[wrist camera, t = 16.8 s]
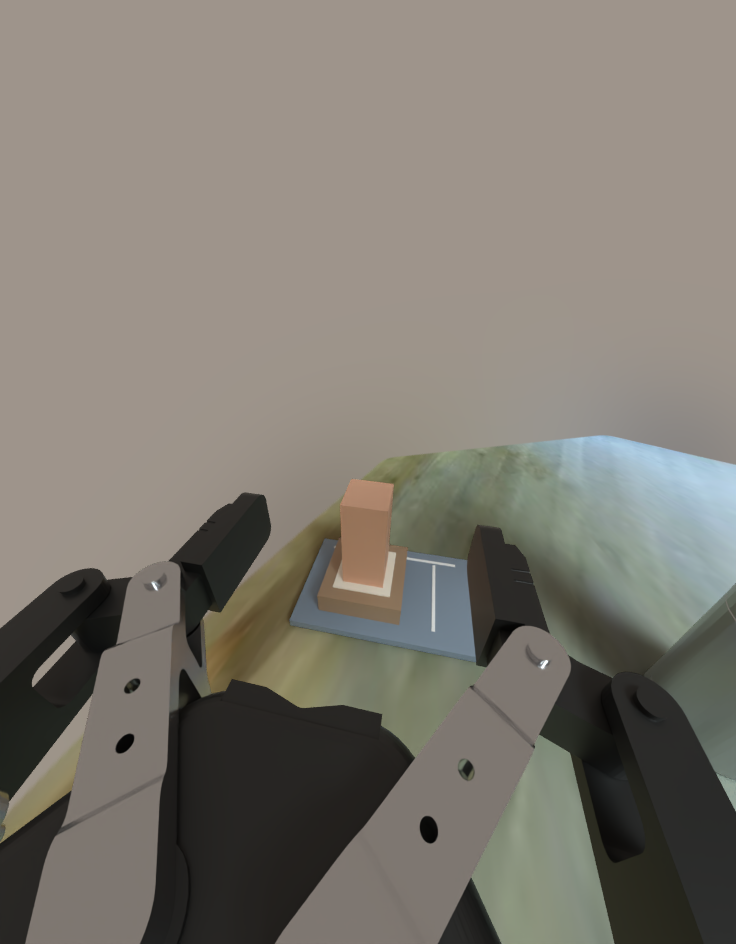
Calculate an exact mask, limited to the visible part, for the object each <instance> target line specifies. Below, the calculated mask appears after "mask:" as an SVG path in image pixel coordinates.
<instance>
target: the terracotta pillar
mask: <svg viewBox="0 0 736 944" xmlns="http://www.w3.org/2000/svg"><path fill="white" fill-rule="evenodd" d="M393 488H394V484H389V483H381V482H373V481H364V480H356V479H351V481H350V483H349V485H348V488H347V490H346V493H345V495H344V497H343V500H342V502H341V504H340V514H341V542H342V570H343V581H345V582H351V583H357V584H362V585H368V586H374V587H380V588H383V584H384V578H385V572H386V566H387V560H388V552H389V539H390V526H391V514H392V501H393Z"/></svg>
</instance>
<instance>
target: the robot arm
mask: <svg viewBox="0 0 736 944" xmlns="http://www.w3.org/2000/svg"><path fill="white" fill-rule="evenodd" d="M270 531H271V524H270V518H269V513H268V509H267V503H266V498H265V496H264V495H260V494H252V493H242V494H241V495H240V496H239V497H238V498H237V499H236V500H235V501H234V503H233V504H227V505H225V506H224V507H222V508H221V509H219V510H217V511H216V512H215V513H214V514H213V515H212V516H211V517H210V518H209V519H208V520H207V523H204V524H203V525H202V526H201V527H200V529H199V531H197V532H196V533H195V534H194V535H193V536H192V537H191V538H190V539H189V540H188V541H187V542H186V543H185V544H184V545H183V546H182V548H181V549H180V550H179V551H178V552H177V553H176V554H175V555H174V556H173V557H172V558H171V559H170V560H169V561H167V562H166V561H164V562H158V563H155V564H152V565H150V566H147V567H145V568H144V569H142V570H141V571H139V572H138V573H137V574H136V575H135V576H134V577H129V578H120V579H111V580H107V579H106V578H105V576H104V575H103V573H102V572H101V571H100V570H98V569H94V568H93V569H92V568H90V569H82V570H78V571H75V572H73V573H70V574H68V575H66V576H64V577H63V578H61V579H59V580H58V581H56V582H55V583H54V584H52V585H51V586H50V587H49V588H48V589H46V590H45V591H44V592H43V593H42V594H41V595H39V596H38V597H37V598H36V599H35V600H33V602H31V603H30V604H29V605H28V606H26V607H25V608H24V609H23V610H22V611H20V612H19V613H18V614H17V615H16V616H15V617H13V618H12V619H11V620H10V621H9V622H7V623H6V624H5V625H4V626H3V627H2V628H0V841H1V840H2V838H3V836H4V833H5V824H4V823H2V822H3V820H4V818H5V816H6V813H7V810H8V806H9V801H10V800H11V799H12V797H13V796H14V795H15V793H16V792H17V791H18V789H19V788H20V787H21V786H22V784H23V783H24V782H25V780H26V779H27V778H28V776H29V775H30V774H31V773H32V771H33V770H34V769H35V768H36V766H37V765H38V764H39V762H40V761H41V760H42V758H43V757H44V756H45V755H46V753H47V752H48V751H49V749H50V748H51V747H52V746H53V744H54V743H55V742H56V740H57V739H58V738H59V737H60V735H61V734H62V733H63V731H64V730H65V729H66V727H67V726H68V725H69V724H70V722H71V721H72V720H73V718H74V717H75V716H76V715H77V713H78V712H79V711H80V709H81V708H82V707H83V705H84V704H85V703H86V702H87V700H88V699H89V698H90V696H91V695H92V694H93V696H92V700H91V705H90V709H89V714H88V718H87V723H86V728H85V732H84V737H83V741H82V746H81V750H80V755H79V760H78V764H77V769H76V773H75V778H74V783H73V787H72V791H70V792H69V793H67V794H66V795H65V796H63V797H62V798H61V799H59V800H58V801H57V802H55V803H54V804H53V805H51V806H50V807H49V808H47V809H46V810H45V811H43V812H42V813H41V814H39V815H38V816H37V817H35V818H34V819H33V820H31V821H30V822H29V823H27V824H26V825H25V826H23V827H22V828H20V829H19V830H18V831H16V832H15V833H14V834H12V835H11V836H10V837H8V838H7V839H6V840H4V841H3V842H2V843H0V944H501V942H500V939H499V937H498V935H497V933H496V931H495V928H494V926H493V924H492V922H491V920H490V918H489V915H488V913H487V911H486V909H485V907H484V904H483V902H482V900H481V898H480V896H479V893H478V891H477V889H476V887H475V885H474V882H473V880H472V878H471V876H472V874H473V872H474V870H475V868H476V866H477V864H478V862H479V860H480V858H481V856H482V854H483V852H484V850H485V848H486V846H487V844H488V842H489V840H490V838H491V836H492V834H493V832H494V830H495V828H496V826H497V824H498V822H499V820H500V818H501V816H502V814H503V812H504V810H505V808H506V806H507V804H508V802H509V800H510V798H511V796H512V794H513V792H514V790H515V788H516V786H517V784H518V782H519V780H520V778H521V776H522V774H523V772H524V770H525V768H526V766H527V764H528V762H529V760H530V758H531V756H532V754H533V751H534V748H535V746H534V744H535V742H536V739H537V737H538V735H541V736H543V737H544V738H546V739H548V740H550V741H551V742H553V743H555V744H556V745H558V746H560V747H561V748H563V749H565V750H566V751H568V752H570V754H571V758H572V762H573V767H574V771H575V775H576V780H577V784H578V788H579V792H580V797H581V801H582V805H583V810H584V814H585V818H586V822H587V827H588V831H589V835H590V840H591V844H592V848H593V853H594V857H595V861H596V865H597V870H598V874H599V878H600V883H601V887H602V891H603V896H604V900H605V904H606V908H607V913H608V917H609V921H610V926H611V930H612V934H613V939H614V943H615V944H736V811H735V809H734V808H733V806H732V804H731V802H730V800H729V798H728V796H727V794H726V792H725V790H724V788H723V786H722V784H721V782H720V780H719V779H718V777H717V775H716V773H718V774H720V775H723V776H725V777H728V778H730V779H734V780H736V583H735V584H734V585H733V586H732V587H731V588H730V590H729V591H728V592H727V593H726V594H725V595H724V596H723V597H722V598H721V599H720V600H719V601H718V602H717V603H716V604H715V605H714V606H713V607H712V608H711V609H709V610H708V611H707V612H706V613H705V614H704V615H703V616H702V617H701V618H700V619H699V620H698V621H697V622H696V623H695V624H694V625H693V626H692V627H691V628H690V629H689V630H688V631H687V632H686V633H685V634H684V635H683V636H682V637H681V638H680V639H679V640H678V641H677V642H676V643H675V644H674V645H673V646H672V647H671V648H670V649H669V650H668V651H667V652H666V653H665V654H664V655H663V656H662V657H661V658H660V659H659V660H658V661H657V662H656V663H655V664H654V665H653V666H652V667H651V668H650V669H649V670H648V671H647V672H646V673H645V674H644V676H642V675H640V674H637V673H633V672H621V673H618V674H617V675H615V676H614V678H611V677H609V676H607V675H605V674H603V673H600V672H598V671H596V670H594V669H592V668H590V667H588V666H586V665H584V664H582V663H580V662H578V661H576V660H575V659H573V658H572V657H570V656H569V655H568V654H567V652H566V650H565V649H564V647H563V646H562V645H561V644H560V642H559V641H558V640H557V639H556V638H554V637H553V636H552V635H551V634H550V633H549V630H548V627H547V624H546V621H545V618H544V615H543V612H542V608H541V605H540V602H539V599H538V596H537V593H536V590H535V586H534V585H533V580H532V577H531V574H530V573H529V572H530V571H529V567H528V564H527V561H526V558H525V557H524V555H523V554H522V553H521V552H520V550H519V549H518V548H517V547H516V546H515V545H510V544H505V542H504V539H503V535H502V531H501V529H500V528H497V527H489V526H482V525H477V527H476V529H475V533H474V536H473V540H472V544H471V547H470V551H469V554H468V560H467V578H468V587H469V597H470V607H471V617H472V626H473V636H474V646H475V656H476V665H478V666H483V667H487V668H486V669H485V670H484V672H483V673H482V675H481V676H480V677H479V679H478V680H477V681H476V683H475V684H474V685H473V686H470V687H469V688H468V689H467V690H466V691H465V692H464V694H463V695H462V696H461V698H460V699H459V700H458V702H457V703H456V704H455V706H454V707H453V708H452V710H451V711H450V712H449V714H448V715H447V716H446V718H445V719H444V720H443V722H442V723H441V724H440V726H439V727H438V728H437V730H436V731H435V732H434V734H433V735H432V736H431V738H430V739H429V741H428V742H427V743H426V745H425V746H424V747H423V749H422V750H421V751H420V753H419V754H418V755H417V757H416V758H415V757H414V756H413V755H412V753H411V752H410V751H409V749H408V748H407V747H406V746H405V745H404V744H403V743H402V742H401V740H400V739H399V738H397V737H396V736H395V735H394V734H393V733H391V732H390V731H389V730H387V729H385V728H384V727H382V726H381V720H382V714H379V713H375V712H370V711H366V710H362V709H358V708H353V707H349V706H345V705H338V706H325V707H313V708H300V707H297V706H296V705H294V704H292V703H291V702H289V701H288V700H286V699H284V698H283V697H281V696H280V695H278V694H277V693H275V692H273V691H272V690H270V689H269V688H267V687H264V686H259V685H255V684H251V683H246V682H242V681H238V680H234V679H232V680H231V682H230V684H229V686H228V688H227V690H226V691H222V692H217V693H213V694H211V689H210V685H209V682H208V677H207V669H206V650H205V632H204V620H203V616H204V615H205V614H206V612H207V611H208V610H210V611H215V612H220V613H221V611H222V610H223V608H224V606H225V605H226V603H227V602H228V600H229V599H230V597H231V596H232V594H233V593H234V591H235V589H236V588H237V586H238V585H239V583H240V582H241V580H242V578H243V577H244V576H245V574H246V572H247V571H248V569H249V568H250V566H251V565H252V563H253V562H254V560H255V559H256V557H257V556H258V554H259V552H260V551H261V549H262V548H263V546H264V545H265V543H266V542H267V540H268V538H269V535H270ZM70 635H71V636H72V637H73V638H74V639H75V640H76V642H75V643H74V644H73V645H72V646H71V647H70V648H69V649H68V650H67V651H66V652H65V654H64V655H63V656H62V657H61V658H60V659H59V660H58V661H57V662H56V663H55V664H54V665H53V666H52V668H51V669H50V670H49V671H48V672H47V673H46V674H45V675H44V676H43V677H42V678H41V679H40V680H39V681H38V683H37V684H36V685H35V686H34V687H32V679H33V676H34V674H35V673H36V671H37V670H38V668H39V667H40V666H41V665H42V664H43V663H44V662H45V661H46V660H47V659H48V658H49V657H50V656H51V655H52V654H53V653H54V651H55V650H56V649H57V648H58V647H59V646H60V645H61V644H62V643H63V642H64V641H65V640H66V639H67V638H68V637H69V636H70ZM715 772H716V773H715Z"/></svg>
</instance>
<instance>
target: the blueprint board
mask: <svg viewBox="0 0 736 944" xmlns="http://www.w3.org/2000/svg"><path fill="white" fill-rule="evenodd" d="M289 621H290V625H292V626H297V627H302V628H307V629H312V630H317V631H322V632H327V633H332V634H337V635H342V636H347V637H352V638H357V639H362V640H367V641H372V642H377V643H382V644H387V645H392V646H397V647H402V648H407V649H412V650H417V651H422V652H427V653H432V654H437V655H442V656H447V657H452V658H457V659H462V660H467V661H472V662H476V656H475V646H474V636H473V626H472V617H471V607H470V597H469V587H468V578H467V560H462V559H456V558H449V557H443V556H436V555H430V554H423V553H417V552H410V551H408V547H401V546H395V545H389V552H388V560H387V566H386V572H385V578H384V584H383V588H380V587H374V586H368V585H362V584H357V583H351V582H345V581H343V570H342V542H341V537H339V539H338V540H332V539H324V541H323V544H322V546H321V548H320V551H319V553H318V555H317V557H316V560H315V562H314V564H313V567H312V569H311V571H310V574H309V576H308V578H307V581H306V583H305V585H304V588H303V590H302V592H301V595H300V597H299V599H298V602H297V604H296V606H295V608H294V611H293V613H292V615H291V618H290V620H289Z"/></svg>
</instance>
